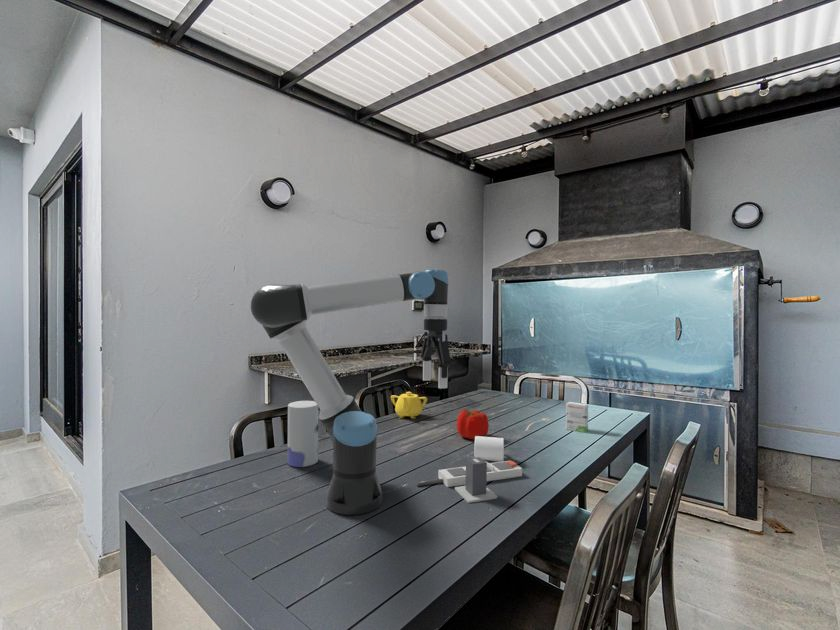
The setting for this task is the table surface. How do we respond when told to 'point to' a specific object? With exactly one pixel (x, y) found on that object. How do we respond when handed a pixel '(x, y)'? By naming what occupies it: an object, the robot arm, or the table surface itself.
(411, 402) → the yellow handled pot
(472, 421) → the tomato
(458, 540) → the table surface
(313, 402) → the container
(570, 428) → the ink box
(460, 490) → the felt pad
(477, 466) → the block
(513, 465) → the power strip
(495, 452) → the mug
